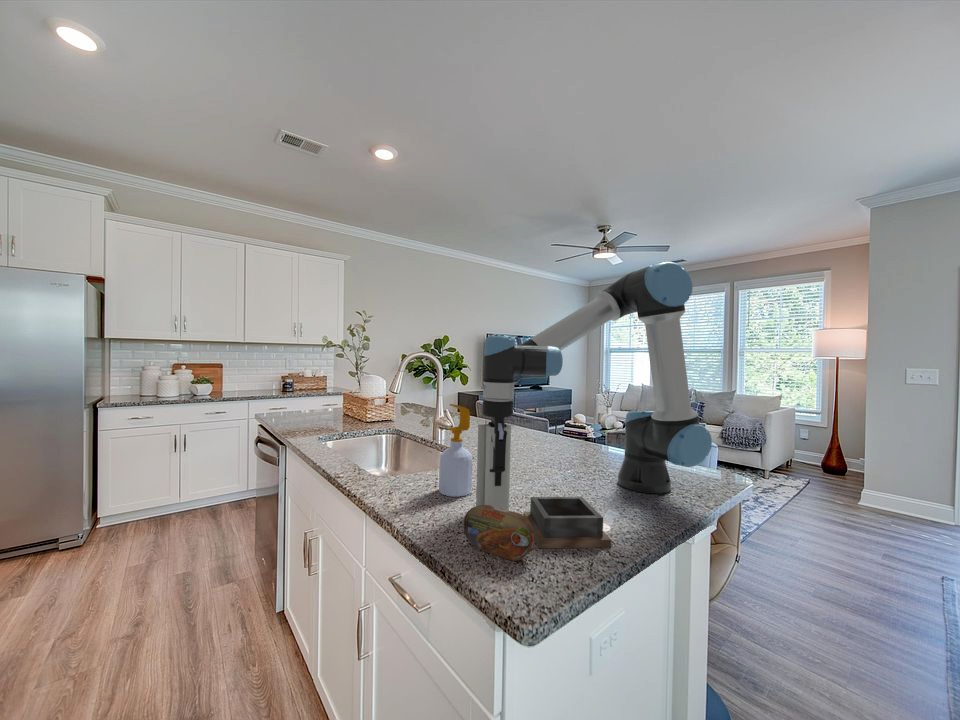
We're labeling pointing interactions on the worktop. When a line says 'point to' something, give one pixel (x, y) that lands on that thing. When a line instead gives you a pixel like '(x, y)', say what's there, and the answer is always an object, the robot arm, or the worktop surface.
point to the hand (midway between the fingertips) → (495, 495)
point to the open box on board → (566, 523)
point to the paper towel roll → (485, 478)
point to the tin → (499, 532)
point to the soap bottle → (456, 461)
